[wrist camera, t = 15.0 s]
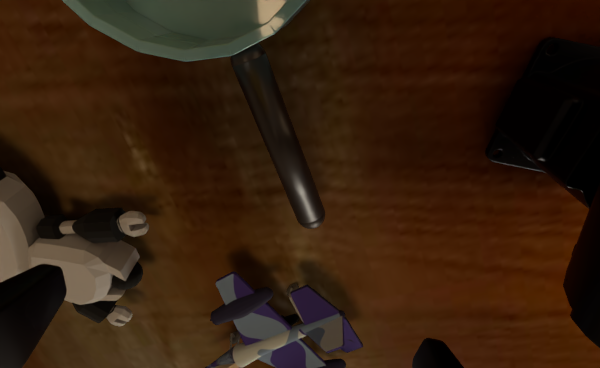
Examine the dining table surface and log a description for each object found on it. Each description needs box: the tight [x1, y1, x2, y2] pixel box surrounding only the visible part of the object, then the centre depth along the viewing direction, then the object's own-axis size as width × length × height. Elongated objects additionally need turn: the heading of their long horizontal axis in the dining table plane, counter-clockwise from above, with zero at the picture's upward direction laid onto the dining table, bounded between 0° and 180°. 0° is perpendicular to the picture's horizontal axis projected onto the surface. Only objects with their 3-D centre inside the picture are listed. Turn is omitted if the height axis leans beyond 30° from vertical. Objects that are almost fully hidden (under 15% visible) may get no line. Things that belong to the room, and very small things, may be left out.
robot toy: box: [0, 167, 149, 326], centre depth 23 cm, size 12×4×15 cm
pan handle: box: [231, 43, 325, 229], centre depth 17 cm, size 10×2×2 cm, turn 20°
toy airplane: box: [205, 272, 363, 368], centre depth 26 cm, size 13×14×4 cm
